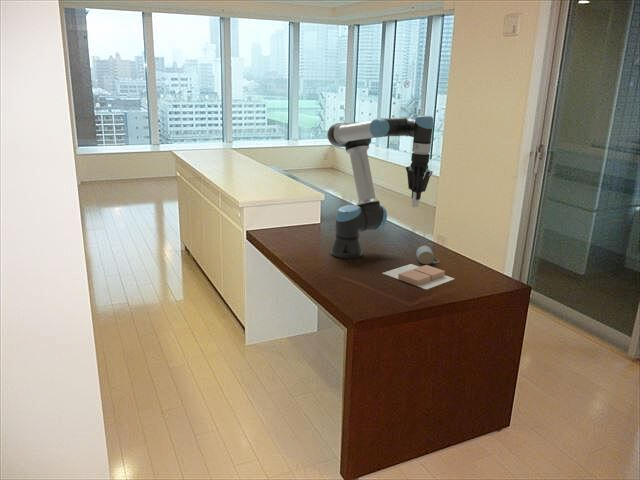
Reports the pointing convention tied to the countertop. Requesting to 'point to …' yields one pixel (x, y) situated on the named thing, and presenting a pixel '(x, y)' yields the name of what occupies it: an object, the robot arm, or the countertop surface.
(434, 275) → the tile
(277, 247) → the countertop surface
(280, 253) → the countertop surface
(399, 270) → the stone board
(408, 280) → the tile
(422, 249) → the ceramic mug
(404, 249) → the countertop surface
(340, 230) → the robot arm
